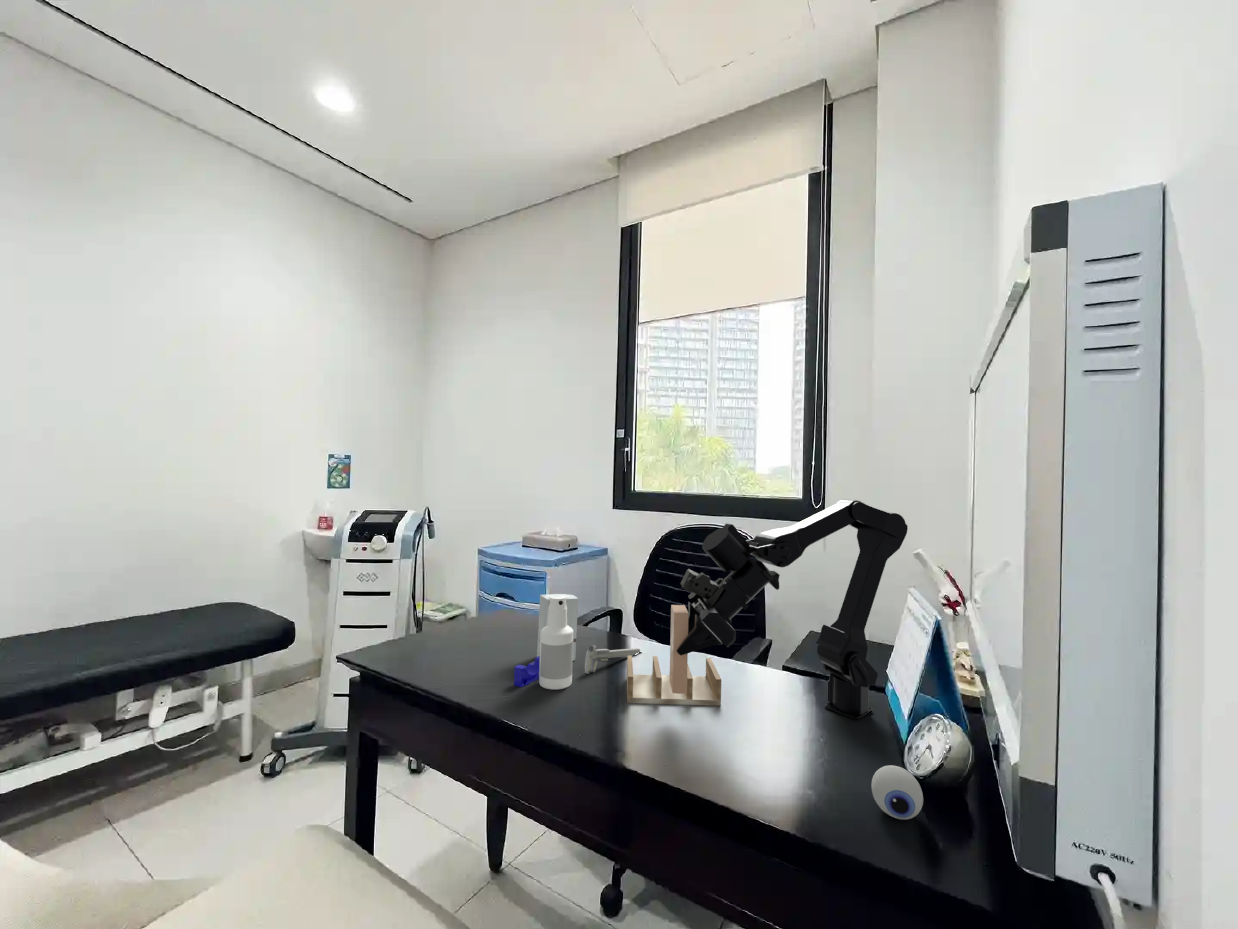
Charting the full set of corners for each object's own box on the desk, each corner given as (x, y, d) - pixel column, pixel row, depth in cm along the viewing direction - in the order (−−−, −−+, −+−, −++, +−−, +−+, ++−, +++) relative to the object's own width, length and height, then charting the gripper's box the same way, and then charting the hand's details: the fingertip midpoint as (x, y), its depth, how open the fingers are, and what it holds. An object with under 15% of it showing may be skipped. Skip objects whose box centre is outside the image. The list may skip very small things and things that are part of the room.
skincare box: (542, 664, 118) (544, 599, 119) (536, 656, 124) (538, 594, 124) (577, 660, 122) (579, 597, 122) (569, 652, 127) (571, 592, 128)
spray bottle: (545, 692, 103) (548, 602, 104) (534, 680, 109) (537, 594, 110) (576, 687, 106) (579, 599, 107) (564, 675, 112) (567, 592, 113)
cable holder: (533, 672, 114) (534, 654, 114) (546, 676, 112) (546, 657, 112) (508, 684, 107) (509, 665, 107) (521, 688, 105) (521, 668, 106)
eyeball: (873, 822, 66) (874, 775, 66) (868, 796, 72) (869, 752, 72) (927, 835, 64) (927, 786, 64) (918, 807, 70) (918, 762, 70)
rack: (710, 681, 111) (710, 658, 111) (720, 705, 99) (721, 679, 99) (626, 678, 111) (627, 655, 112) (627, 702, 99) (628, 676, 100)
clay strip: (683, 681, 95) (684, 605, 96) (686, 693, 90) (688, 612, 90) (669, 681, 95) (671, 604, 96) (672, 693, 90) (674, 612, 90)
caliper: (587, 676, 113) (588, 647, 113) (584, 675, 114) (585, 646, 114) (642, 653, 129) (643, 628, 129) (639, 652, 130) (639, 627, 130)
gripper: (700, 548, 103) (643, 602, 102) (717, 563, 84) (648, 630, 84) (739, 589, 102) (682, 643, 102) (765, 613, 84) (695, 680, 84)
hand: (676, 647), depth 93 cm, fingers closed on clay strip, 5 cm apart
